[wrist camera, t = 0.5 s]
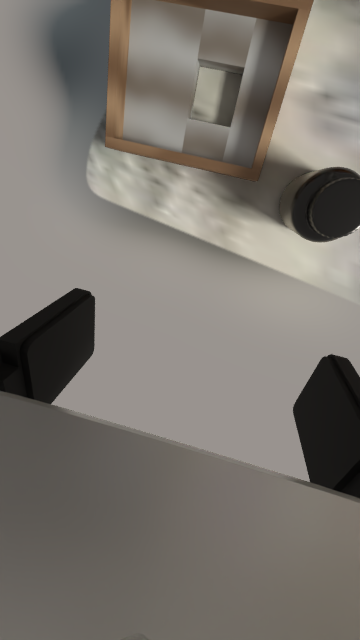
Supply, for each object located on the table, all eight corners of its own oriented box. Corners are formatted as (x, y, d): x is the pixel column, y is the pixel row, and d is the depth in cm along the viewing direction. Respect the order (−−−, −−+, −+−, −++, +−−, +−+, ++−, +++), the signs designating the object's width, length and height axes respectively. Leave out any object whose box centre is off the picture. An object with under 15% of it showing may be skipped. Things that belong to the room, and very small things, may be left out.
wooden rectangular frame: (130, -8, 26) (112, -41, 22) (303, 23, 25) (315, -7, 21) (120, 151, 33) (105, 146, 29) (255, 181, 32) (257, 180, 28)
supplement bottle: (340, 219, 32) (390, 236, 22) (284, 238, 34) (305, 261, 24) (333, 160, 30) (386, 147, 19) (272, 185, 32) (290, 185, 21)
